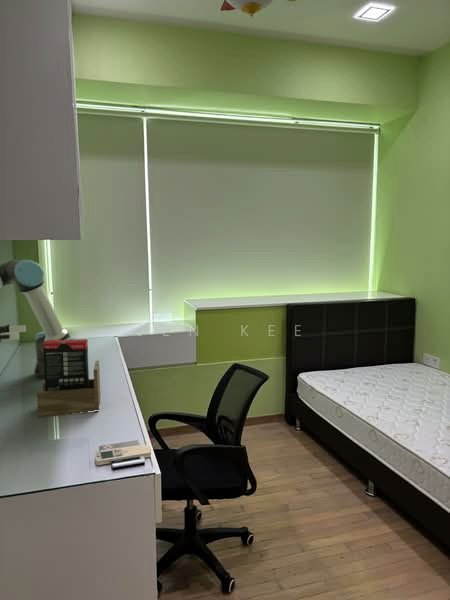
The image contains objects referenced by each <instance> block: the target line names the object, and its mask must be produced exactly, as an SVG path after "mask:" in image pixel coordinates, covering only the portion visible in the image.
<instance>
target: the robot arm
mask: <svg viewBox="0 0 450 600" xmlns="http://www.w3.org/2000/svg"><path fill="white" fill-rule="evenodd" d="M44 273H45V272H44V270H43V268H42V266H41V265H40V264H39V262H36V261H34V260H31V259H10V260H6V261H5V262H3V263H0V288H3V287H5V286H8V285H15V286H16V288H17V290H18V292H19V293H20V294H23V295H24V296H25V298H26V299H27V301H28V303H29V305H30V307H31V310H32V312H33V313H34V316H35V317H36V319H37V321H38V324H39V325H40V327H41V329H42V331H41V332H37V333H35V337H34V342H35V343H34V344H35V355H36V357H35V358H36V362H35V365H34V369H33V377H34V378H37V379H45V370H44V350H43V343H44V342H45V341H46V340H76V339H75V338H73V337H71V336H70V334H69V331H68V330H67V329H65V328H63V326H62V323H61V322H60V320H59V318H58V316H57V314H56V311H55V309H54V307H53V305H52V303H51V301H50V298H49V297H48V294H47V293H46V291H45V288H44V285H45V281H44V275H45V274H44ZM26 328H27V326H26V325H10V324H6V325H2V326H0V343H2V341H8V340H9V341H10V340H11V341H12V340H20V333H25V332H27V329H26Z"/></svg>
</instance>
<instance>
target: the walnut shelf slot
mask: <svg viewBox="0 0 450 600" xmlns="http://www.w3.org/2000/svg"><path fill="white" fill-rule="evenodd" d="M94 363H95V364H94V366H93V378H89V388H85V389H72V390H58V391H45V381H44V382H42V391H36V399H37V402H36V403H37V417H38V418H45V417H55V416H58V415H59V416H66V415H65V414H70V415H73V414H72V413H80V412H88V411H94V410H99V411H100V408H99V405H100V406H101V401H100V399H102V398H101V396H102V395H101V376H100V373H101V372H100V360H95V362H94ZM59 416H58V417H59Z"/></svg>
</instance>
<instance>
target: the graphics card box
mask: <svg viewBox="0 0 450 600" xmlns="http://www.w3.org/2000/svg"><path fill="white" fill-rule="evenodd" d="M88 346H89V342H88V339H87V338H86V339H84V338H83V339H80V338H79V339H75V340H46V341H45V342H44V343H43V350H44V370H45V378H44V382H45V391H58V390H72V389H85V388H89V379H90V375H89V349H88V348H89V347H88Z"/></svg>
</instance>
